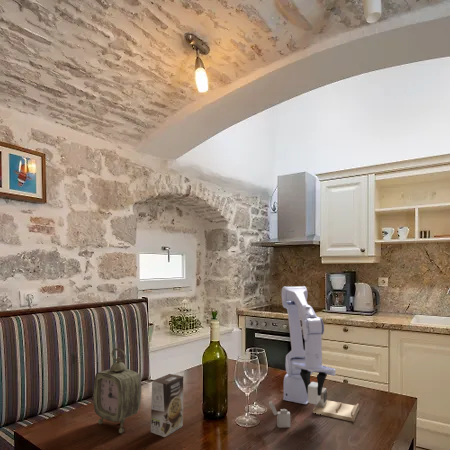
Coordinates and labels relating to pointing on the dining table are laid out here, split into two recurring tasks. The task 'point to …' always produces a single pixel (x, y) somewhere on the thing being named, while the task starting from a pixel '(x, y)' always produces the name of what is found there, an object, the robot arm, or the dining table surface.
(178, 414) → the coffee box
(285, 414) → the lighter
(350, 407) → the cream tray
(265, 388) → the dining table surface
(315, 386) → the white rectangular box
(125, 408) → the tabletop clock
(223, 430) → the dining table surface
